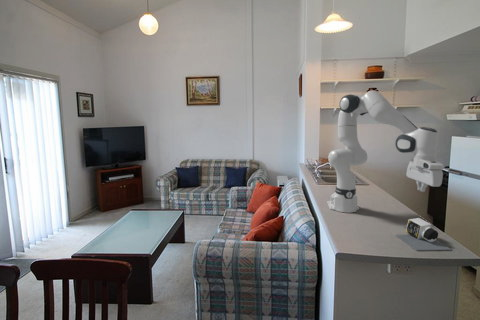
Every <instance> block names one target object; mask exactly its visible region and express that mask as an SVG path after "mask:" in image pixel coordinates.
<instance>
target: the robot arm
mask: <svg viewBox="0 0 480 320" xmlns="http://www.w3.org/2000/svg"><path fill="white" fill-rule="evenodd" d="M339 109H340V110H339V113H338V116H337V117H338V119H337V138H338V139H337V140H339V141H340V142H341V143H343V146H344V148H337V149H333V150H331V151H330V152H328V156H327V160H328V163H329V164H330V166H332V167H333V169H334V170H335V174H336V186H335V191H334V192H333V193H332V194H331V195H330V196H329V199H328V200H327V201H326V204H327V205H328V207H329V210H332V211H336V212H341V213H348V214H349V213H350V214H351V213H355V212H357V211H358V210H360V207H359V206H358V196H357V195H356V194H357V188H356V184H357V181H356V180H357V176H356V175H355V174H354V173H353V172H352V171H351V168H350V167H357V166H361V165H364V164H365V163H366V162H367V160H368V153H367V151H366V150H365V149H364V148H363V147H362V146H361V144H360V141H359V139H358V123H357V122H358V121H357V120H358V116H364V115H366V114H369V116H370V117H371V118H372V119H373V120H374V121H375V122H377V123H378V124H379V123H380V124H383V125H390V126H393V127H396V128H397V129H399V130H400V132H402V133H403V134H399V135H398V136H397V137H396V140H395V143H394V144H395V148H396V149H397V151H398V152H399V153H403V154H413V159H411V160H410V161H409V163H408V165H407V168H406V173H405V174H406V175H405V176H406V177H407V178H409V179H412V180H414V181H415V183H416V186H417V191H419V192H422V193H425V192H426V189H427V188H428V186H430V187H434V188H435V187H437V188H438V187H441V185H442V183H443V176H444V173H443V170H444V168H445V165H444V164H443V163H441V162H440V161H439V160H438V159H437V158H438V157H437V149H438V147H439V132H438V131H437V129H435V128H432V127H427V126H424V127H423V126H422V127H417V125H415V124H414V123H412V122H413V121H410V119H409V118H407V117H406V116H405V115H404V114H402V113H401V112H400V111H399V110H397V109H396V108H395V107H394V106H393V105H392V104H391V102H390V101H389V100H387V98H385V97H384V95H382V94H381V93H379V92H378V91H376V90H369V91H367V92H366V93H365V94H362V93H358V94H347V95H344V96H342V97H341V98H340V101H339Z"/></svg>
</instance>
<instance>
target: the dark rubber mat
mask: <svg viewBox="0 0 480 320" xmlns="http://www.w3.org/2000/svg"><path fill="white" fill-rule="evenodd" d="M395 237H396V238H398V239H399V240H401V241H402V242H404V243H405V244H406V245H408V246H409V247H410V248H412V249H413V250H414V251H416V252H429V251H430V252H431V251H436V252H437V250H449V251H452V249H451V248H450V247H448V246H447V245H446V244H443V243H442V242H440V241H439V240H437V239H436V240H435V241H434V242H429V241H427V240H425V239H424V238H422V239H417V238H415V237H413V236H412V235H410V234H395Z"/></svg>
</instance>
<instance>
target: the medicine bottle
mask: <svg viewBox="0 0 480 320" xmlns="http://www.w3.org/2000/svg"><path fill="white" fill-rule="evenodd" d="M407 221H408V222H407V224H406V229H405V232H406V233H407V235H412V236H413V237H415V238H417V239H422V238H424V239H425V240H427V241H429V242H434V241H435V240H437V239H438V237H439V232H438V230H435V229H434V228H432V225H433V224H431V223H430V222H428V221H426V220H424V219H422V218H420V217H417V218H409V219H408V220H407Z"/></svg>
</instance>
